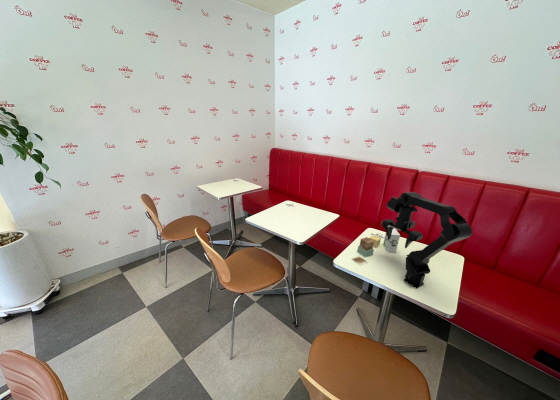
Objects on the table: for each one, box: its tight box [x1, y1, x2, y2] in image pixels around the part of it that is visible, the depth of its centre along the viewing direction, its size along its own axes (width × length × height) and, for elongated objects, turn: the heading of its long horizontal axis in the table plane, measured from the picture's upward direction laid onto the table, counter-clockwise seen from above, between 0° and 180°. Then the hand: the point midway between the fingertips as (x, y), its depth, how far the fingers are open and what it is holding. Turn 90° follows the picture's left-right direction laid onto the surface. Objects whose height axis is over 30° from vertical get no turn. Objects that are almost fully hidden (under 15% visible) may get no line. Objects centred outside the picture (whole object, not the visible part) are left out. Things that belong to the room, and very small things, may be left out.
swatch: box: [351, 255, 368, 266], centre depth 118 cm, size 6×6×1 cm
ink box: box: [382, 228, 401, 253], centre depth 128 cm, size 9×5×12 cm, turn 172°
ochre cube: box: [369, 234, 382, 249], centre depth 133 cm, size 5×5×5 cm
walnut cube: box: [359, 236, 374, 251], centre depth 122 cm, size 5×5×5 cm
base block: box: [356, 245, 375, 258], centre depth 124 cm, size 6×6×4 cm
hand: (397, 243), depth 112 cm, fingers open, 9 cm apart
